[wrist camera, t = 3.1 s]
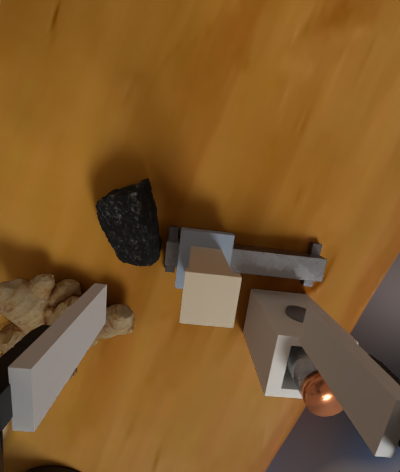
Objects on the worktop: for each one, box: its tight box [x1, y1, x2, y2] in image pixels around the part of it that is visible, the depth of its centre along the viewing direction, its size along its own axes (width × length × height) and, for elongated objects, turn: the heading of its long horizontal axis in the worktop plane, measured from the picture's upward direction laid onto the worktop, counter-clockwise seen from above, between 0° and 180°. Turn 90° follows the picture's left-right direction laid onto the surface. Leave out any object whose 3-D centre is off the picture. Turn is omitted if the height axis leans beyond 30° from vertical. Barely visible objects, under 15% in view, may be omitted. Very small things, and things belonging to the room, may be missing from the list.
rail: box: [165, 226, 327, 287], centre depth 28 cm, size 20×6×2 cm, turn 83°
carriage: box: [175, 227, 242, 328], centre depth 23 cm, size 6×7×13 cm
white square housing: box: [243, 289, 358, 399], centre depth 27 cm, size 8×7×10 cm
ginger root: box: [0, 273, 135, 378], centre depth 28 cm, size 16×16×8 cm
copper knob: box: [286, 346, 344, 416], centre depth 22 cm, size 4×4×6 cm
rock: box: [96, 178, 162, 266], centre depth 26 cm, size 7×10×6 cm
